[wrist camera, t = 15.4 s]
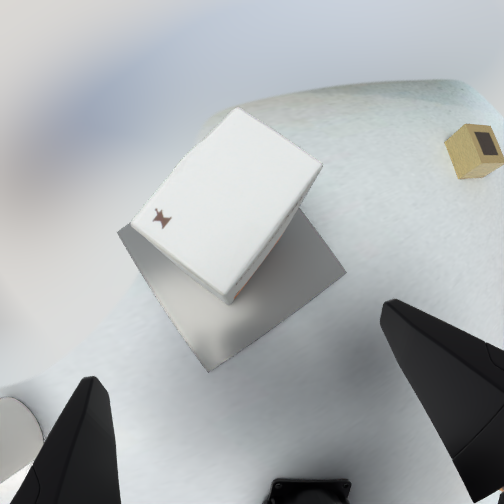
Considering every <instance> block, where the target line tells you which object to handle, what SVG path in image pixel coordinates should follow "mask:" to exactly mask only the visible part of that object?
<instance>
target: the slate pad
mask: <svg viewBox="0 0 504 504" xmlns="http://www.w3.org/2000/svg"><path fill="white" fill-rule="evenodd" d="M117 233H118V235H119V237H120V239H121V240H122V242H123V244H124V246H125V247H126V249H127V251H128V252H129V254H130V256H131V258H132V259H133V261H134V262H135V264H136V266H137V268H138V269H139V271H140V273H141V274H142V276H143V277H144V279H145V281H146V282H147V284H148V285H149V287H150V289H151V290H152V292H153V293H154V295H155V297H156V298H157V300H158V301H159V303H160V304H161V306H162V307H163V309H164V310H165V312H166V313H167V315H168V317H169V318H170V320H171V321H172V322H173V324H174V325H175V327H176V328H177V330H178V331H179V333H180V334H181V336H182V337H183V339H184V340H185V341H186V343H187V344H188V346H189V347H190V349H191V350H192V351H193V353H194V354H195V356H196V357H197V358H198V360H199V361H200V363H201V364H202V365H203V367H204V368H205V369H206V371H207V372H208V373H209V372H210V371H212V370H213V369H215V368H216V367H218V366H219V365H221V364H222V363H224V362H225V361H227V360H228V359H230V358H231V357H233V356H234V355H236V354H237V353H238V352H240V351H241V350H243V349H244V348H246V347H247V346H249V345H250V344H251V343H253V342H254V341H256V340H257V339H259V338H260V337H261V336H263V335H264V334H266V333H267V332H268V331H270V330H271V329H273V328H274V327H275V326H277V325H278V324H280V323H281V322H282V321H284V320H285V319H286V318H288V317H289V316H291V315H292V314H293V313H295V312H296V311H297V310H299V309H300V308H301V307H303V306H304V305H305V304H307V303H308V302H309V301H311V300H312V299H313V298H315V297H316V296H317V295H319V294H320V293H321V292H322V291H324V290H325V289H326V288H328V287H329V286H330V285H331V284H333V283H334V282H335V281H337V280H338V279H339V278H340V277H342V276H343V275H344V274H345V273H347V272H346V271H345V269H344V268H343V267H342V265H341V264H340V262H339V261H338V260H337V258H336V257H335V255H334V254H333V253H332V251H331V250H330V248H329V247H328V246H327V244H326V243H325V242H324V240H323V239H322V237H321V236H320V235H319V233H318V232H317V231H316V229H315V228H314V227H313V225H312V224H311V223H310V221H309V220H308V219H307V217H306V216H305V215H304V213H303V212H302V211H301V209H300V208H298V210H297V211H296V213H295V215H294V216H293V218H292V220H291V221H290V223H289V225H288V226H287V228H286V230H285V231H284V233H283V234H282V236H281V238H280V239H279V241H278V242H277V243H276V244H275V246H274V247H273V248H272V250H271V251H270V253H269V254H268V255H267V257H266V258H265V259H264V261H263V262H262V263H261V265H260V266H259V267H258V269H257V270H256V271H255V273H254V274H253V275H252V277H251V278H250V279H249V281H248V282H247V283H246V285H245V286H244V287H243V288H242V290H241V291H240V292H239V294H238V295H237V296H236V298H235V299H234V300H233V302H232V303H231V304H230V305H227V304H226V303H224V302H223V301H222V300H220V299H219V298H217V297H216V296H215V295H213V294H212V293H211V292H209V291H208V290H207V289H205V288H204V287H203V286H201V285H200V284H199V283H198V282H196V281H195V280H194V279H193V278H191V277H190V276H189V275H188V274H186V273H185V272H184V271H183V270H182V269H180V268H179V267H178V266H177V265H176V264H175V263H173V262H172V261H171V260H170V259H169V258H168V257H166V256H165V255H164V254H163V253H162V252H161V251H159V250H158V249H157V248H156V247H155V246H154V245H153V244H151V243H150V242H149V241H148V240H147V239H146V238H145V237H144V236H143V235H141V234H140V233H139V232H138V231H136V230H135V229H134V228H133V227H131V222H130V223H129V224H128V225H126V226H125V227H123V228H122V229H121V230H119V231H118V232H117Z"/></svg>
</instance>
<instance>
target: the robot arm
mask: <svg viewBox="0 0 504 504" xmlns="http://www.w3.org/2000/svg"><path fill="white" fill-rule="evenodd" d="M380 325H381V328H382V330H383V332H384V334H385V336H386V338H387V341H388V343H389V345H390V347H391V349H392V351H393V353H394V356H395V358H396V360H397V362H398V364H399V366H400V368H401V369H402V371H403V373H404V374H405V376H406V378H407V379H408V381H409V383H410V384H411V386H412V388H413V390H414V391H415V393H416V395H417V397H418V398H419V400H420V402H421V403H422V405H423V407H424V409H425V411H426V412H427V414H428V416H429V418H430V419H431V421H432V423H433V425H434V427H435V429H436V430H437V432H438V434H439V436H440V438H441V440H442V441H443V443H444V445H445V447H446V449H447V451H448V453H449V455H450V457H451V458H452V461H453V463H454V465H455V467H456V469H457V471H458V472H459V474H460V476H461V478H462V480H463V482H464V485H465V487H466V489H467V491H468V493H469V495H470V497H471V499H472V501H473V502H474V503H476V502H478V501H480V500H482V499H484V498H485V497H487V496H489V495H491V494H492V493H494V492H496V491H498V490H499V489H501V488H502V487H504V350H501V349H499V348H497V347H495V346H493V345H491V344H489V343H487V342H486V343H485V341H483V340H481V339H479V338H477V337H475V336H473V335H471V334H469V333H467V332H465V331H462V330H460V329H458V328H456V327H454V326H452V325H450V324H448V323H446V322H444V321H442V320H440V319H438V318H436V317H434V316H432V315H430V314H427V313H425V312H423V311H421V310H419V309H417V308H415V307H413V306H411V305H409V304H407V303H404V302H402V301H400V300H398V299H391V300H389V301H386V302H384V304H383V307H382V312H381V318H380ZM276 484H281V485H280V486H276ZM344 484H347V485H346V486H343V485H344ZM350 488H351V482H350V481H349V480H348V479H340V480H291V479H276V480H274V481H273V482H272V484H271V488H270V493H269V497H268V500H265V501H263V503H262V504H350V503H349V501H348V500H347V498H348V495H349V492H350ZM10 504H121V498H120V490H119V480H118V469H117V455H116V441H115V434H114V427H113V421H112V414H111V406H110V398H109V394H108V392H107V390H106V389H105V388H104V386H103V385H102V384H101V382H100V381H99V380H98V378H97V377H95V376H90V377H84V378H83V379H82V380H81V381H80V383H79V385H78V386H77V388H76V389H75V391H74V393H73V394H72V396H71V398H70V399H69V401H68V403H67V404H66V406H65V408H64V409H63V411H62V413H61V414H60V416H59V418H58V420H57V421H56V423H55V425H54V426H53V428H52V430H51V432H50V433H49V435H48V437H47V439H46V441H45V442H44V444H43V446H42V448H41V450H40V451H39V453H38V455H37V457H36V459H35V461H34V463H33V466H31V468H30V470H29V472H28V474H27V476H26V477H25V479H24V481H23V483H22V485H21V486H20V488H19V490H18V491H17V493H16V495H15V496H14V498H13V500H12V501H11V503H10ZM498 504H504V491H503V492H502V493H501V494H500V497H499V501H498Z"/></svg>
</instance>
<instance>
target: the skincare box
mask: <svg viewBox="0 0 504 504" xmlns="http://www.w3.org/2000/svg"><path fill="white" fill-rule="evenodd" d="M322 167H323V164H322V163H321V162H320V161H319V160H317V159H316V158H314V157H313V156H311V155H310V154H308V153H307V152H306V151H304V150H303V149H301V148H300V147H298V146H297V145H296V144H294V143H293V142H291V141H290V140H288V139H287V138H286V137H284V136H283V135H281V134H280V133H278V132H277V131H275V130H274V129H272V128H271V127H269V126H268V125H266V124H265V123H263V122H262V121H260V120H259V119H257V118H255V117H254V116H252V115H251V114H249V113H248V112H246V111H245V110H243V109H242V108H240V107H236V108H234V109H233V110H232V111H230V112H229V113H228V114H227V115H226V116H225V117H224V118H223V119H222V120H221V121H220V122H219V123H218V124H217V125H216V126H215V127H214V128H213V129H212V130H211V131H210V132H209V133H208V135H207V136H206V137H205V138H204V139H203V140H202V141H201V142H199V143H198V144H197V145H196V146H195V147H193V148H192V149H191V150H190V151H189V152H188V153H187V154H186V155H185V156H184V157H183V158H182V159H181V160H180V162H179V163H178V164H177V165H176V167H175V168H174V170H173V171H172V172H171V173H170V175H169V176H168V177H167V178H166V179H165V181H164V182H163V183H162V184H161V185H160V186H159V188H158V189H157V190H156V191H155V193H154V194H153V195H152V196H151V197H150V198H149V200H148V201H147V202H146V203H145V204H144V206H143V207H142V208H141V209H140V211H139V212H138V213H137V214H136V215H135V217H134V218H133V219H132V221H131V227H133V228H134V229H135V230H136V231H138V232H139V233H140V234H141V235H143V236H144V237H145V238H146V239H147V240H148V241H149V242H150V243H151V244H153V245H154V246H155V247H156V248H157V249H158V250H159V251H161V252H162V253H163V254H164V255H165V256H166V257H168V258H169V259H170V260H171V261H172V262H173V263H175V264H176V265H177V266H178V267H179V268H180V269H182V270H183V271H184V272H185V273H186V274H188V275H189V276H190V277H191V278H193V279H194V280H195V281H196V282H198V283H199V284H200V285H201V286H203V287H204V288H205V289H207V290H208V291H209V292H211V293H212V294H213V295H215V296H216V297H217V298H219V299H220V300H222V301H223V302H224V303H226V304H227V305H230V304H231V303H232V302H233V300H234V299H235V298H236V296H237V295H238V294H239V292H240V291H241V290H242V288H243V287H244V286H245V285H246V283H247V282H248V281H249V279H250V278H251V277H252V275H253V274H254V273H255V271H256V270H257V269H258V267H259V266H260V265H261V263H262V262H263V261H264V259H265V258H266V257H267V255H268V254H269V253H270V251H271V250H272V248H273V247H274V246H275V244H276V243H277V242H278V241H279V239H280V238H281V236H282V234H283V233H284V231H285V230H286V228H287V226H288V225H289V223H290V221H291V220H292V218H293V216H294V215H295V213H296V211H297V210H298V208H299V206H300V205H301V203H302V201H303V200H304V198H305V196H306V195H307V193H308V191H309V189H310V188H311V186H312V184H313V183H314V181H315V179H316V177H317V176H318V174H319V172H320V170H321V169H322Z"/></svg>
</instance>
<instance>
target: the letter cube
mask: <svg viewBox="0 0 504 504" xmlns="http://www.w3.org/2000/svg"><path fill="white" fill-rule="evenodd" d="M444 143H445V145H446V148H447V150H448V153H449V155H450V158H451V160H452V163H453V166H454V169H455V171H456V174H457V177H458V179H467V178H481V177H484V176H486V175H488V174H489V173H491V172H492V171H494V170H496V169H497V168H499V167H500V166H502V165H504V157H503V154H502V152H501V149H500V147H499V144H498V142H497V140H496V137H495V135H494V133H493V131H492V128H491V126H486V125H475V124H464V125H463V126H462V127H461V128H460V129H459V130H458V131H457V132H456V133H454V134H453V135H452V136H451V137H450V138H449V139H448V140H447V141H445V142H444Z"/></svg>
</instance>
